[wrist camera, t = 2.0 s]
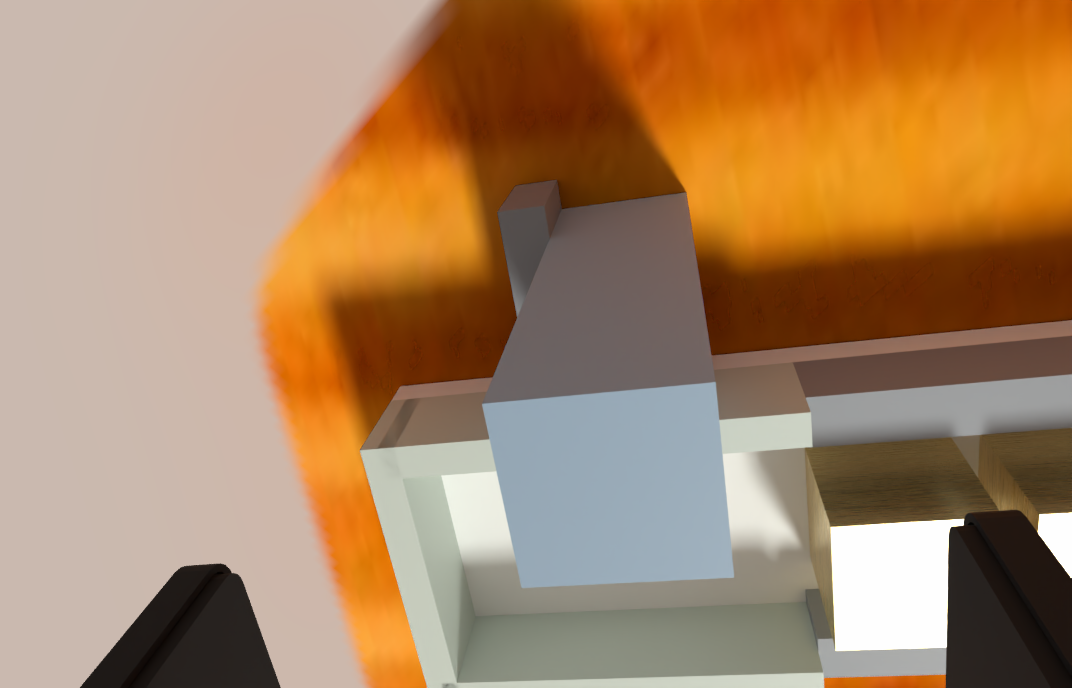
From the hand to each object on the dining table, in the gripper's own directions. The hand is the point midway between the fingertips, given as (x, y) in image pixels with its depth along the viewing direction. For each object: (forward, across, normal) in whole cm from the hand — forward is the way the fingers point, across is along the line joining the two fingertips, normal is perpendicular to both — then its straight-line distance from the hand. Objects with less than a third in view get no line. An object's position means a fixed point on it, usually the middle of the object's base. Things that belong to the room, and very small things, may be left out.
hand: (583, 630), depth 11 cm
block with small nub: (+14, 0, -1) cm, 15 cm away
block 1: (+14, -7, +7) cm, 17 cm away
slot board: (+15, -6, +7) cm, 17 cm away
